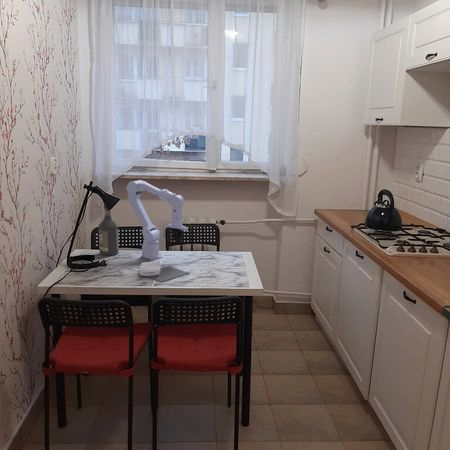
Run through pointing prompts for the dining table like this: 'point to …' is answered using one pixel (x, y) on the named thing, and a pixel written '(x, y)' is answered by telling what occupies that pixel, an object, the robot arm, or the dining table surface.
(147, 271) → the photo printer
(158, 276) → the mat
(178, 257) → the dining table surface
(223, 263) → the dining table surface
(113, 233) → the liquor
